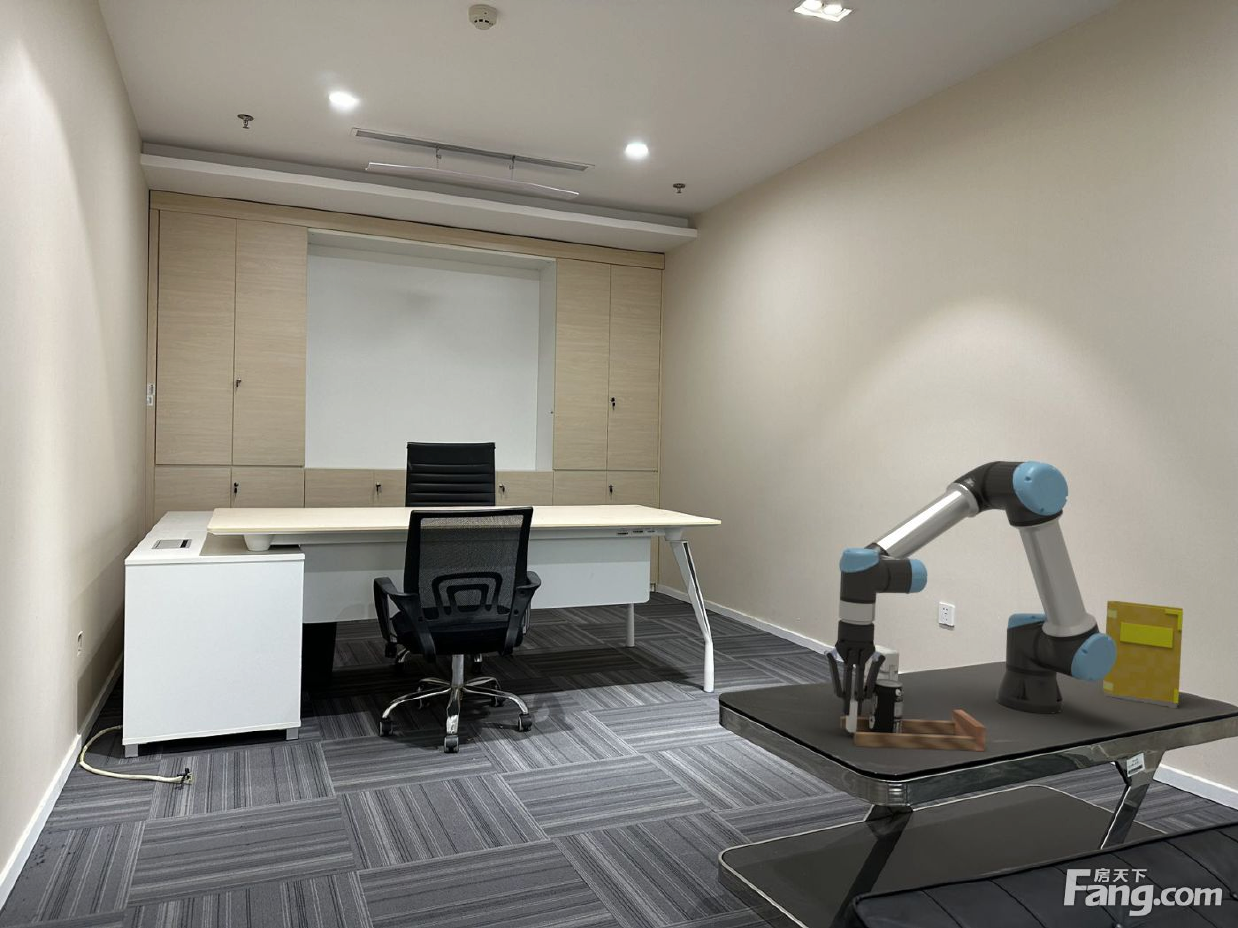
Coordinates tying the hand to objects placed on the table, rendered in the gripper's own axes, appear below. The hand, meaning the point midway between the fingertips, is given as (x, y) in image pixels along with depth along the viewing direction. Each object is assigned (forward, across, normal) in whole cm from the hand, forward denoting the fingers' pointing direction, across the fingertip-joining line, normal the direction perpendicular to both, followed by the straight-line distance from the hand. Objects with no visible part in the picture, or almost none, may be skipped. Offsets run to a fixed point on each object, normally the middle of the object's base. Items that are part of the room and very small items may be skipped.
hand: (850, 730), depth 184 cm
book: (+1, -88, -41) cm, 97 cm away
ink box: (+2, -17, -35) cm, 39 cm away
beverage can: (+2, -7, 0) cm, 7 cm away
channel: (+1, -13, 0) cm, 13 cm away
